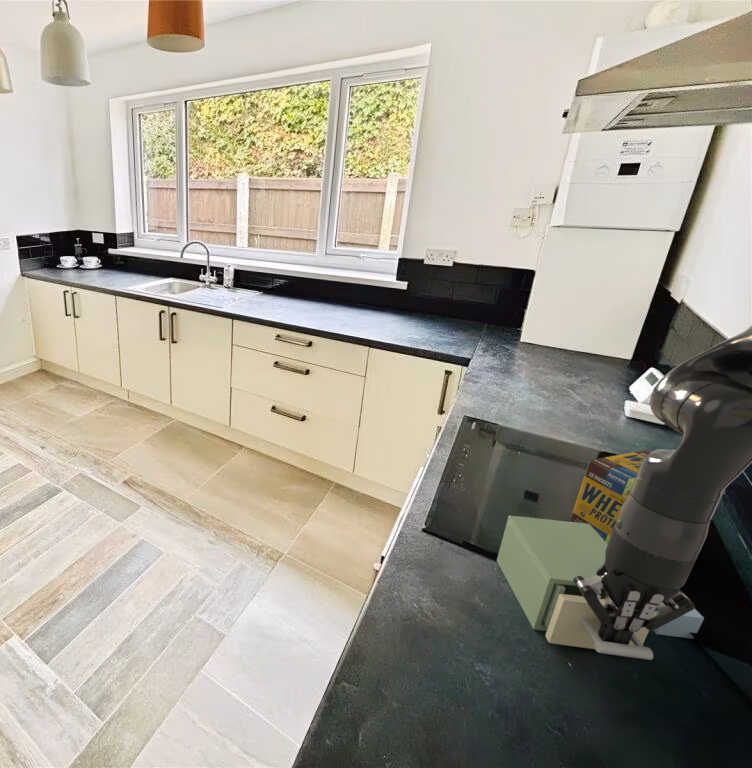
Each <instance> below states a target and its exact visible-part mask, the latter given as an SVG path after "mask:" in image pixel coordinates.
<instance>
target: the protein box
mask: <svg viewBox="0 0 752 768" xmlns="http://www.w3.org/2000/svg"><path fill="white" fill-rule="evenodd" d="M650 452H651V451H649V450H645V449H643V450H639V451H635V452H628V453H622V454H616V455H612V456H606V457H601V458H594V459H589V462H588V465H587V467H586V471H585V473H584V477H583V479H582V482H581V485H580V489H579V492H578V495H577V498H576V501H575V504H574V507H573V510H572V514H571V516H570V519H569V522H576V523H586V524H590V525H591V526H592V527H593V529H594V530H595V531H596V532H597V533H598V534H599V535H600V536H601V537H602V538H603V540H604V541H605V542H606V543H607V544H608V542H609V539H610V537H611V534H612V531H613V529H614V526H615V524H616V521H617V518H618V516H619V513H620V510H621V508H622V506H623V504H624V502H625V501H626V499H627V497H628V496H629V494H630V492H631V489H632V486H633V484H634V481H635V479H636V476H637V473H638V470H639V468H640V465H641V463H642V461H643V460H644V458H645V457H646V455H647V454H649V453H650Z"/></svg>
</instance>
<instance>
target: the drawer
mask: <svg viewBox="0 0 752 768" xmlns="http://www.w3.org/2000/svg"><path fill="white" fill-rule="evenodd" d="M600 595H601V598H598V599H599V601H600V603H601V604H602V606H603V607H604V606H605V602H606V600H605V590H604V589H601V594H600ZM656 614H657V611H655V612H654V613H653V615H652V616H651V618H653V617H655V616H656ZM542 620H543V622H544V624H545V625H546V627H548V629H547V631H545V635H544V636H545V639H546V641H547V642H548V643H549V644H554V645H561V646H568V647H577V648H584V649H591V650H595V651H596V652H597V653H598V654H604V655H612V656H618V657H626V658H632V659H640V660H648V661H652V660H653V659H654V653H653V652H654V651H653V650H652V649H651V648H650V647H648V646H644V643H645V640H646V638H647V637H648V634H649V632H650V630H648V629H647V628H646V627H643V628H640V630H639V631H637V632H634V633H633V635H632V637H631V639H630V641H629V644H628V645H627V644H620V643H612V642H605V641H602V640H601V639H600V637H599V636H598V631H599V629H600V626H601V624H602V623H601V622H600V620H599V619H598V618H597V616H596V615H595V613H594V612H593V610H592V609H591V608H590V606H589V605H588V603H587V601H586V600H585V598H584V597H583V595H582V594H581V592H580V590H579V589H578V587H577V586H573V585H565V584H557V583H554V586H553V589H552V592H551V595H550V598H549V601H548V604H547V607H546V610H545V613H544V616H543V619H542Z"/></svg>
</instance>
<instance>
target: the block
mask: <svg viewBox="0 0 752 768" xmlns="http://www.w3.org/2000/svg"><path fill="white" fill-rule="evenodd" d="M658 614H659V611H658V610H657V614H656V616H657V615H658ZM704 620H705V618H704V616H703V615H701V613H700V612H699V611H698V610H697V609H696V607H695V608H694V609H693V610H692V611H690V612H688V613H686V614H684V615H682V616H680V617H678V618H676V619H674V620H673V621H671V622H669V623H667V624H665V625H663V626H661V627H659V628H657V629H655V630H652V631H653V632H654V633H655V634H656V635H659V636H660V635H661V636H669V637H677V638H683V639H684V638H685V639H691V640H694V639H695V637H694V636H693V634H698V632H699V629H700V628H701V626H702V624H703V622H704Z"/></svg>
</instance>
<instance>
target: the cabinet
mask: <svg viewBox="0 0 752 768" xmlns="http://www.w3.org/2000/svg"><path fill="white" fill-rule="evenodd" d="M607 545H608V544H607V543H606V542H605V541H604V540H603V538H602V537H601V536H600V535H599V534H598V533H597V532H596V531H595V530H594V529H593V527H592V526H591V525H590V524H586V523H576V522H570V521H567V520H565V521H564V520H558V519H557V520H555V519H546V518H538V517H537V518H536V517H528V516H520V515H519V516H517V515H511V514H510V515H508V517H507V520H506V525H505V528H504V532H503V536H502V540H501V543H500V546H499V550H498V555H497V558H496V563H497V564H498V566H499V568H500V570H501V571H502V573H503V575H504V577H505V579H506V581H507V584H508V585H509V587H510V588H511V591H512V593H513V594H514V596H515V598H516V599H517V600H516V601H517V602H518V603H519V605H520V607H521V609H522V611H523V613H524V615H525V616H526V618H527V620H528V622H529V624H530V625H531V628H532V630H534V631H542V632H547V629H548V627H546V625H545V624H544V622H543V620H542V619H543V616H544V613H545V610H546V607H547V604H548V601H549V598H550V595H551V592H552V589H553V586H554V583H557V584H565V585H573V586H576V584H575V583H574V581H573V579H574V578H575V577H576V576H582V577H583V578H584V579H585V580H586V579H588V578H591V577H594V576H597V575H596V573H597V570H598V569H599V568H600V567H601V566H602V565H603V564H604V563H605V551H606V547H607ZM601 589H604V588H603V587H602V588H601Z"/></svg>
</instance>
